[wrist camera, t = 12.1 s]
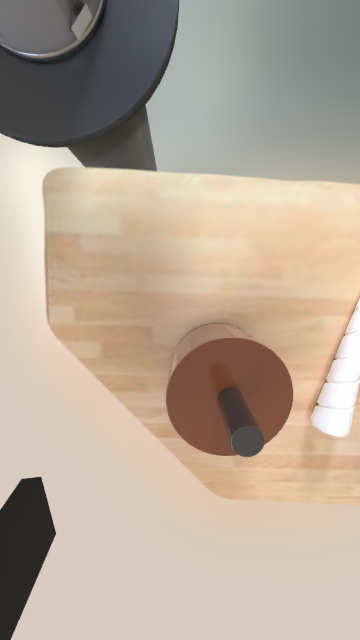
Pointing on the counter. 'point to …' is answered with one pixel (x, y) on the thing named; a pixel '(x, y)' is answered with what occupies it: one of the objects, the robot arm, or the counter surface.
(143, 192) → the counter surface
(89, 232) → the counter surface
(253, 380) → the crock lid
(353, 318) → the unicorn horn
